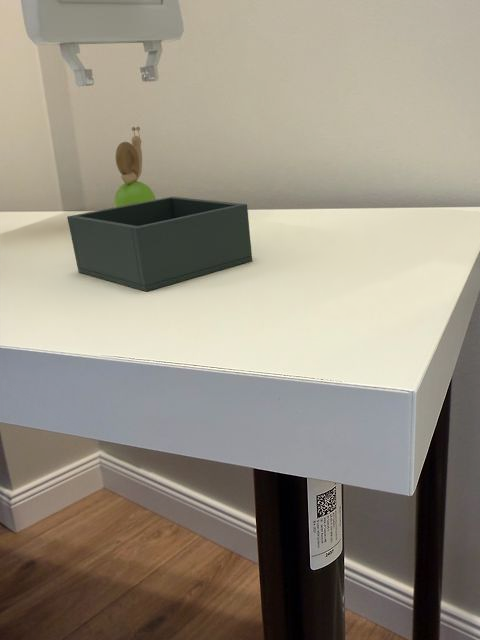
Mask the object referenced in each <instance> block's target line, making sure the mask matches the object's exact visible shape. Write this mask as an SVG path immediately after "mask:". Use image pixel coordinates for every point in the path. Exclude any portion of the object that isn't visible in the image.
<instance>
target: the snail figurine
mask: <svg viewBox="0 0 480 640" xmlns="http://www.w3.org/2000/svg"><path fill="white" fill-rule="evenodd" d="M131 131H132V132H133V136H132V137H131V143H130V142H128V141H123V142H120V143H119V144H118V146H117V148H116V151H115V164H116V167H117V170H118V171H119V173H120V174H121V175H120V178H121V180H122V181H123V184H121V185H120V186H119V187H118V189H116V192H115V194H114V208H115V207H120V206H125V205H131V204H136V203H141V202H146V201H152V200H156V195H155V193H154V192H153V190H152V189H151V188H150V187H149V186H148V185H147V184H145V183H143V182H142V181H139V180H138V179H139V178H140V177H141V175H142V171H143V151H142V139H141V137H140V136H141V135H136V134H135V131H137V132H138V133H140V131H141V127H140V126H136V127H135V126H132V127H131Z"/></svg>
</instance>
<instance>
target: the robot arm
mask: <svg viewBox="0 0 480 640" xmlns="http://www.w3.org/2000/svg"><path fill="white" fill-rule="evenodd" d="M20 4H21V12H22V17H23V24H24V28H25V32H26V35H27V37H28V38H29V40H31V42H32V43H33V44H34V45H35V46H59V49H60V54H61V57H62V59H63V60H64V61H65V62H66V63H67V66H69V68H70V69H71V71H73V73H74V79H75V84H76V86H77V87H89V86H94V84H95V81H94V78H93V70H92V68H86V67H85V66H84V64H83V63H82V61H81V59H80V58H79V56H78V54H80V53H81V48H80V45H102V44H103V45H104V44H105V45H106V44H142V45H143V51H144V53H147V58H146V61H145V65H144V66H141V67H139V69H140V70H139V71H140V74H141V80H142V82H143V83H151V82H158V81H159V71H158V65H159V62H160V60H161V56H162V53H163V46H162V43H170V42H177V41H179V40H181V38H182V36H183V33H184V30H185V29H184V21H183V17H182V16H183V15H182V11H181V7H180V3H179V0H20Z"/></svg>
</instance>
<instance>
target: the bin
mask: <svg viewBox="0 0 480 640" xmlns="http://www.w3.org/2000/svg"><path fill="white" fill-rule="evenodd" d="M66 219H67V223H68V228H69V231H70V233H69V234H70V237H71V244H72V248H73V252H74V258H75V262H76V267H77V272H78V273H81V274H84V275H88V276H91V277H94V278H97V279H102V280H105V281H109V282H112V283H116V284H119V285H123V286H126V287H130V288H133V289H136V290H139V291H144V292H149V291H153V290H155V289H160V288H163V287H167V286H170V285H173V284H177V283H181V282H184V281H188V280H191V279H194V278H197V277H201V276H204V275H208V274H211V273H215V272H218V271H222V270H226V269H229V268H231V267H232V266H233V267H236V266H239V264H240V265H242V263H243V264H246V263H249V262H253V253H252V252H253V251H252V242H251V232H250V231H251V230H250V221H249V210H248V204H247V203H238V202H228V201H218V200H209V199H199V198H189V197H179V196H169V197H163V198H157V199H155V200H152V201H146V202H141V203H136V204H131V205H125V206H120V207H115V206H114V207H110V208H109V207H108V208H106V209H99V210H93V211H88V212H84V213H78V214H73V215H67V216H66ZM235 265H236V266H235ZM233 267H232V268H233ZM225 268H226V269H225Z"/></svg>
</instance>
